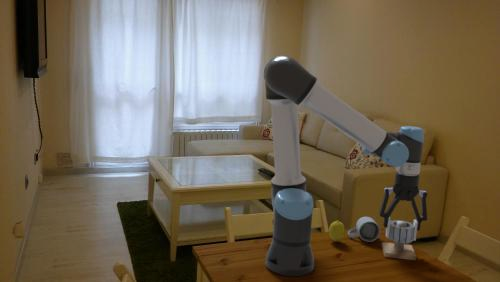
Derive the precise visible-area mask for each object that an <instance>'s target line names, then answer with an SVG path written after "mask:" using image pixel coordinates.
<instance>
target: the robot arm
mask: <svg viewBox="0 0 500 282" xmlns="http://www.w3.org/2000/svg"><path fill="white" fill-rule="evenodd" d="M263 79H264V86H265V87H264V89H265V100H266V101H267V102H268V103H269V104H270V106H271V124H272V125H271V126H272V142H273V143H272V144H273V159H274V160H273V162H274V176H273V177H272V178H271V179H270V185H271V195H270V200H271V205H272V209H273V211H272V212H273V228H272V229H273V230H272V241H271V243H270V246H269V247H268V250H267V252H266V256H265V266H266V268H267V269H268V270H270V271H271V272H273V273H275V274H278V275H282V276H285V277H287V276H288V277H301V276H302V277H303V276H306V275H308V274H310V273H312V272H313V270H314V267H315V257H314V254H313V251H312V247H311V233H312V221H313V211H314V199H313V196H312V195H311V194H310V193H309V192H308V191H307V179H306V177H305V176H304V175H303V174H302V169H301V168H302V165H301V149H300V148H301V147H300V127H299V126H300V123H299V107H300V106H304V107H306V108H307V109H308V110H310V111H311V112H313V113H314V114H315V115H317V116H319V117H321V119H323V120H324V121H326V122H327V123H329V124H330V125H331V126H333V127H334V128H336V129H337V130H339V131H340V132H342V133H343V134H345V136H348V137H349V138H350V139H352V141H355V142H357V144H358V145H360V146H361V151H362V152H363V154H365V155H366V154H367V155H371V156H372V155H375V156H376V157H377V158H378V159H380V160H382V161H383V163H385V165H387V166H390V167H392V168H393V167H395V171H396V172H395V174H394V175H395V176H394V184H393V186H392V187H387V186H386V187H383V188H384V189H383V191H384V194H383V195H384V196H383V198H382V202H381V205H380V207H379V211H378V214H379V216H380V218H381V217H382V218H383V228H385V238H386V239H389V232H390V222H391V221H392V219H391V215H392V214H393V211H394V210H395V208H396V206H397V205H398V203H400V201H402V202H403V201H406V202H410V204H411V207H412V209H413V212H414V216H415V218H416V219H413V221H412V224H413V225H414V226H415V227H414V236H413V241H415V242H416V240H417V231H420V230H421V223H422V222H426V221H427V220H428V210H427V209H428V207H427V197H428V192H427V191H426V189H425V190H424V189H423V190H421V189H419V183H420V175H419V174H420V173H421V162H422V156H423V155H422V154H423V147H424V144H425V143H424V141H425V130H424V129H423V128H421V127H418V126H413V125H412V126H411V125H404V126H401V127H400V129H399V131H397V132H390V131H389V132H388V131H386V130H385V129H383V128H382V127H380V126H379V125H378V124H376V123H374V122H373V121H372V120H370V119H369V118H367V117H366V116H364V114H362V113H361V112H359V111H357V110H356V109H355V108H353V107H352V106H351V105H349V104H348V103H346V102H345V101H344V100H342V99H341V98H339V97H338V96H337V95H335V94H334V93H332V92H331V91H329V90H328V89H327V88H325V87H324V86H322V85H321V84H320V83H319V79H318V77H316V76H314V74H312V73H310V72H309V71H308V70H307V69H306V68H305V67H304V66H303V65H302V64H301V63H300V61H298V60H297V59H296V58H294V57H291V56H289V55H278V56H275V57H273V58H271V59H270V60H269V61H268V62H267V63H266V64H265V67H264V70H263ZM392 193H394V197H393V199H392V201H391V202H390V204H389V206H388V207H387V204H388V201H389V199H390V195H391V194H392ZM418 195H419V197H420V207H421V215H420V212H419V209H418V207H417V206H418V205H417V204H416V200H415V198H416V197H417V196H418ZM386 208H387V209H386Z"/></svg>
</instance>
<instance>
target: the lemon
mask: <svg viewBox="0 0 500 282" xmlns="http://www.w3.org/2000/svg"><path fill="white" fill-rule="evenodd" d="M345 233H346V231H345V225H344V223H342V222H341V221H339V220H336V221H333V222H332V223H331V224H330V225H329V229H328V234H329V237H330V239H331V240H333V241H334V242H335V243H337V242H338V241H341V240H342V239H344V237H345Z"/></svg>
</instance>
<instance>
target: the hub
mask: <svg viewBox="0 0 500 282" xmlns="http://www.w3.org/2000/svg"><path fill="white" fill-rule="evenodd" d="M397 221H404V222H406V223H407V227H399V226H396V225H397ZM414 227H415V226H414V225H413V222H409V221H406V220H398V219H395V220H391V222H390V232H389V238H388V239H389V240H391V241H393V242H399V243H404V244H409V243H412V242H413V241H414V240H413V236H414Z"/></svg>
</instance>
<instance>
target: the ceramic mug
mask: <svg viewBox="0 0 500 282" xmlns="http://www.w3.org/2000/svg"><path fill="white" fill-rule="evenodd" d="M347 235H348V237H349V238H351V239H355V238H360V239H361V240H362V241H364V242H366V243H367V242H368V243H370V242H374V241H376V240H377V239H378V238H379V236H380V235H381V228H380V226H379V224H378V223H377V222H376V221H375V220H374V218H373V217H370V216H361V217H360V218H359V219H358V220H357V221H356V225H355V227H353V228H351V229H349V230H348V231H347Z"/></svg>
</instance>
